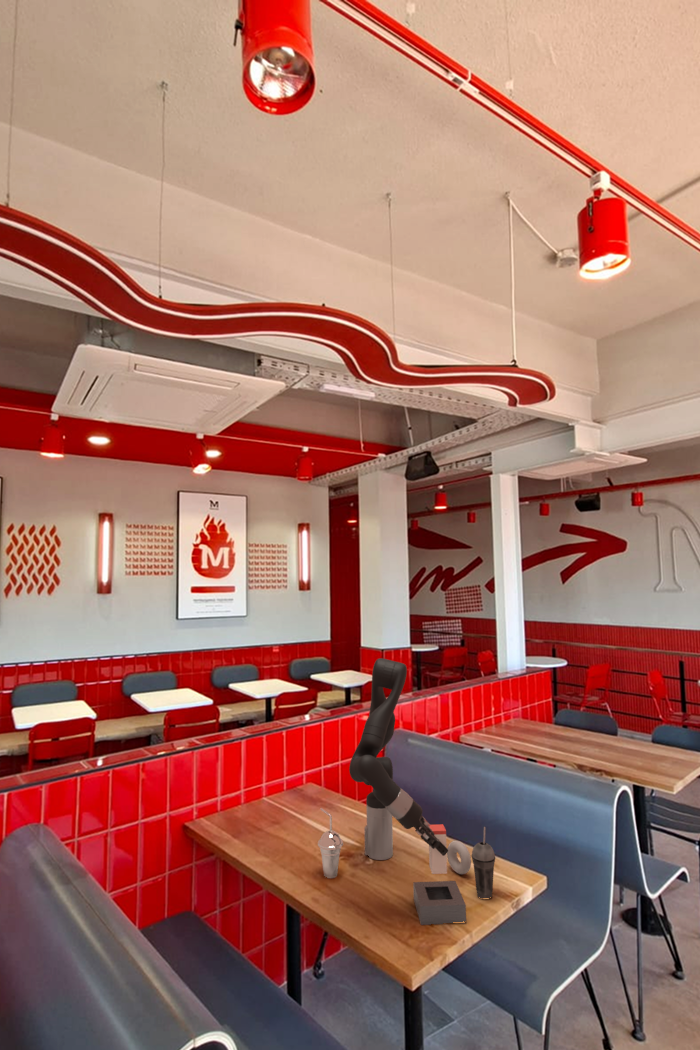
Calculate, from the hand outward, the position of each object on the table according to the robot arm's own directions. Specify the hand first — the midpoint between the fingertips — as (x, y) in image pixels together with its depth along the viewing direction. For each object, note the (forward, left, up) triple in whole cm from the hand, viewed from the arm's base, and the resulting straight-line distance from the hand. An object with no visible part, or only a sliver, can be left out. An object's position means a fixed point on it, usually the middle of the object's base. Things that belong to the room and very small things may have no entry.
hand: (443, 848), depth 170 cm
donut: (-3, +23, -18) cm, 29 cm away
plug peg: (-2, -1, -6) cm, 6 cm away
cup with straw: (-41, +3, -18) cm, 44 cm away
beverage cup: (+8, +13, -18) cm, 23 cm away
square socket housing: (-2, -1, -17) cm, 18 cm away
